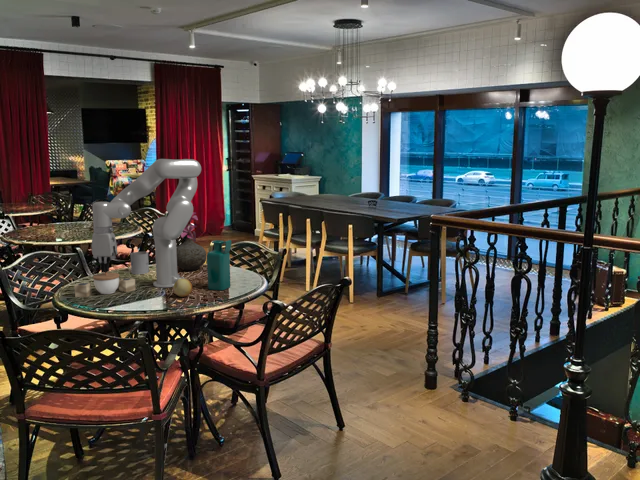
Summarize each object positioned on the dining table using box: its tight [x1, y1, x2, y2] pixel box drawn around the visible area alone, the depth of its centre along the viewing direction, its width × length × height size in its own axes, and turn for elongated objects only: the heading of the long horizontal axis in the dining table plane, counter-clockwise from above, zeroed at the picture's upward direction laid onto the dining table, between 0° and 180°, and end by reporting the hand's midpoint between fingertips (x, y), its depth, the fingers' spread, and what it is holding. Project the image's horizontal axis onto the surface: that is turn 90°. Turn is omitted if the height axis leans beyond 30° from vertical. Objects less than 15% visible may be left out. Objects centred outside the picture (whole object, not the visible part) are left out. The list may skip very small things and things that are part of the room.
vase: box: [176, 211, 207, 272], centre depth 302 cm, size 17×17×30 cm
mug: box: [130, 251, 150, 275], centre depth 299 cm, size 12×9×10 cm
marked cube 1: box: [74, 282, 93, 298], centre depth 252 cm, size 5×5×5 cm
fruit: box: [172, 278, 193, 298], centre depth 249 cm, size 8×8×8 cm
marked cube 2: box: [118, 277, 136, 293], centre depth 261 cm, size 5×5×5 cm
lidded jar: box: [93, 272, 120, 295], centre depth 256 cm, size 11×11×9 cm
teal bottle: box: [206, 239, 232, 292], centre depth 262 cm, size 10×8×22 cm
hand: (105, 271), depth 255 cm, fingers closed
